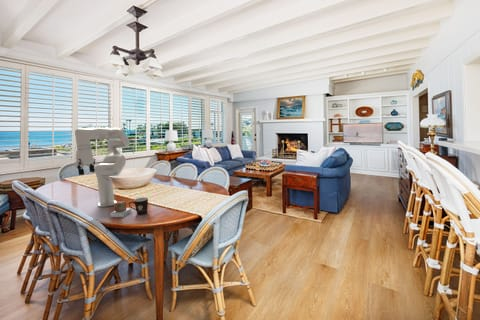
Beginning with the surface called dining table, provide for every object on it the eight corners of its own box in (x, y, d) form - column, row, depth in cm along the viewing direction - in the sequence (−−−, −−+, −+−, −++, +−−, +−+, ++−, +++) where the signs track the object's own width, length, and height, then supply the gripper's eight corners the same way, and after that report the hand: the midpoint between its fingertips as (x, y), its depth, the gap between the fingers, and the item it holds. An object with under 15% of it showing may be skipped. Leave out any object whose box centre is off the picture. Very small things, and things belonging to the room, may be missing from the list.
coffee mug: (151, 211, 156) (150, 197, 155) (143, 216, 148) (142, 201, 147) (137, 210, 160) (136, 196, 158) (128, 215, 152) (127, 200, 150)
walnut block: (115, 211, 150) (114, 203, 149) (119, 209, 155) (118, 200, 154) (122, 211, 150) (121, 203, 149) (126, 209, 155) (125, 200, 154)
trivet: (110, 216, 149) (110, 213, 148) (118, 211, 158) (118, 208, 157) (123, 217, 148) (123, 213, 148) (131, 211, 157) (130, 208, 157)
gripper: (88, 146, 157) (91, 170, 160) (67, 149, 140) (71, 176, 143) (98, 146, 157) (101, 170, 159) (79, 148, 140) (82, 176, 142)
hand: (87, 173), depth 151 cm, fingers open, 9 cm apart
